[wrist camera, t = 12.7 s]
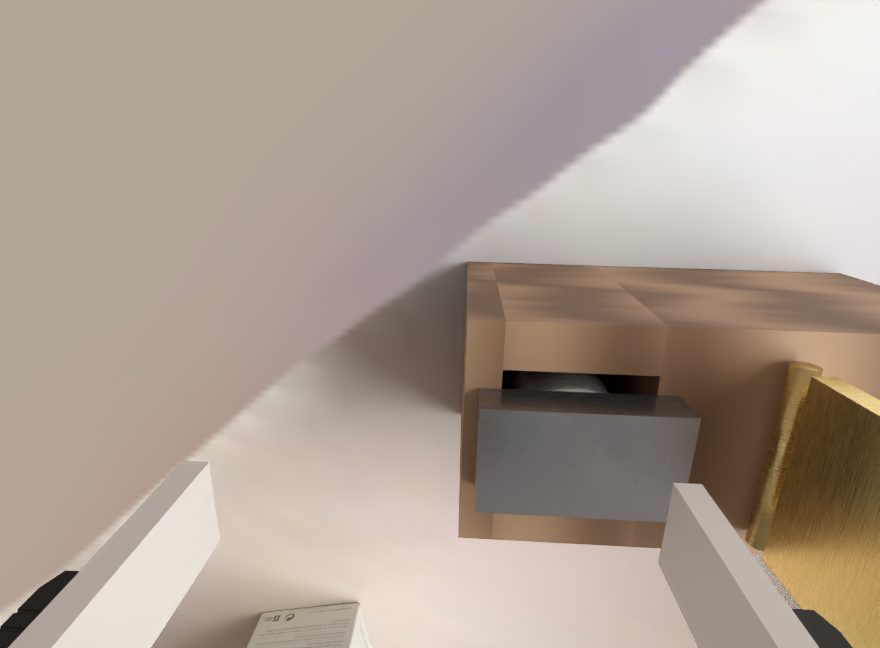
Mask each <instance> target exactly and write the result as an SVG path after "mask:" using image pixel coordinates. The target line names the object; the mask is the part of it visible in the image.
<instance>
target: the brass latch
mask: <svg viewBox="0 0 880 648" xmlns="http://www.w3.org/2000/svg"><path fill="white" fill-rule="evenodd" d="M822 373H823V369H822V368H821V367H819V366H817V365H815V364H811V363H807V362H801V361H793V362H790V364H789V368H788V372H787V376H786V379H785V383H784V387H783V391H782V395H781V399H780V403H779V407H778V411H777V415H776V419H775V422H774V426H773V430H772V434H771V438H770V442H769V446H768V450H767V454H766V458H765V462H764V465H763V469H762V473H761V477H760V481H759V485H758V489H757V493H756V497H755V501H754V504H753V508H752V512H751V516H750V520H749V524H748V528H747V532H746V536H745V540H746V542H747V543H748V544H749V545H750V546H751V547H753V548H755V549H757V550H759V551H763V556H762V560H763V561H764V563H765V564H766V565H767V566H768V567H769V569H770V570H771V571H772V572H773V574H774V575H775V576H776V577H777V578H778V580H779V581H780V582H781V583H782V585H783V586H784V587H785V588H786V590H787V591H788V592H789V593H790V594H791V596H792V597H793V598H794V599H795V601H796V602H797V603H798V604H799V605H800V607H801V608H802V609H804V610H814V611H816V612H817V613H818V614H819V615H820V616H822V617H823V618H824V619H825V620H826V621H828V622H829V623H830V624H831V625H833V626H834V627H835V628H836V629H837V630H839V631H840V632H841V633H842V635H843V636H844V637H845V638H846V640H847V641H848V642H849V644H850V645H851V646H852V647H853V648H880V400H879V399H877V398H875V397H873V396H871V395H869V394H868V393H866V392H864V391H862V390H860V389H858V388H857V387H855V386H853V385H851V384H849V383H847V382H846V381H844V380H842V379H840V378H838V377H821V376H822Z"/></svg>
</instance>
